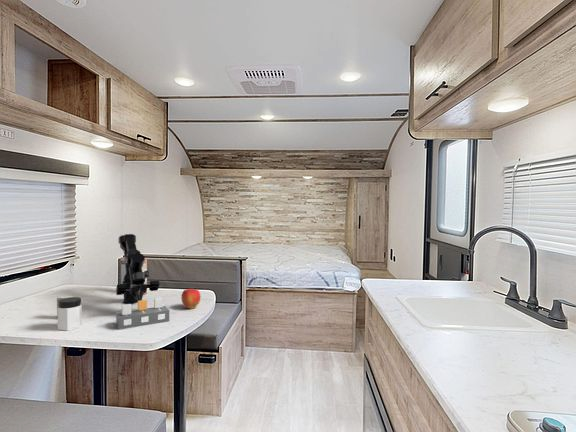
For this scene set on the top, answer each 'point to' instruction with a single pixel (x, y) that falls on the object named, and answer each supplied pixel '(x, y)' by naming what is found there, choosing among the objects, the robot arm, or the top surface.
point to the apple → (190, 298)
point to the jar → (69, 313)
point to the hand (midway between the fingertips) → (140, 302)
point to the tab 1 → (126, 309)
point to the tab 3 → (158, 302)
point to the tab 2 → (142, 305)
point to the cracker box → (125, 271)
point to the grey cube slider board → (142, 317)
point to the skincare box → (60, 299)
